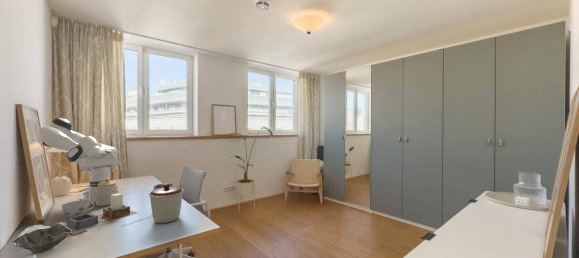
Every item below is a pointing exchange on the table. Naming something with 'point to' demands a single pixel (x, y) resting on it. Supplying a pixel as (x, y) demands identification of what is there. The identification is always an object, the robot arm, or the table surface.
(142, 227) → the table surface
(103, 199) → the jar
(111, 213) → the brown open box
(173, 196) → the canister
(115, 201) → the plug
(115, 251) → the table surface
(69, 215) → the teacup
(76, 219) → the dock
